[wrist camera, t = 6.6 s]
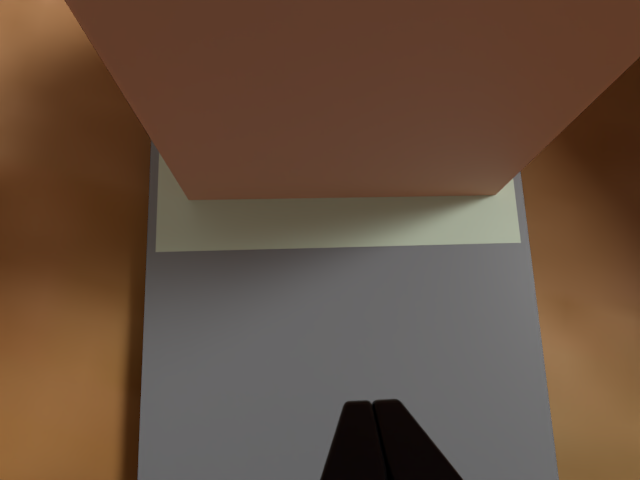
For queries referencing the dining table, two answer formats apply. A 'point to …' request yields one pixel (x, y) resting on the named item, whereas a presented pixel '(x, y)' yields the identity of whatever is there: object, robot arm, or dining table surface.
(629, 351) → the dining table surface
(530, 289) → the board
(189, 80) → the t block
